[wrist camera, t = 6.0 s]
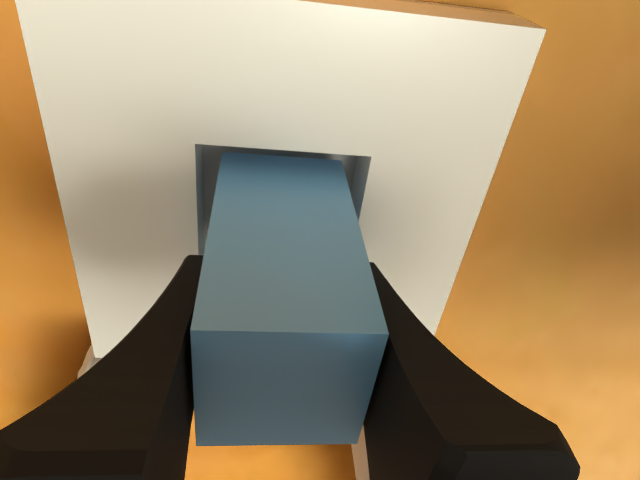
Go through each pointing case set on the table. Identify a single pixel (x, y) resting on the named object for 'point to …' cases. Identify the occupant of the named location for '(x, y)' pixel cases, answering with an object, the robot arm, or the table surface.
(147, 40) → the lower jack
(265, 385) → the plug
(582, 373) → the table surface
